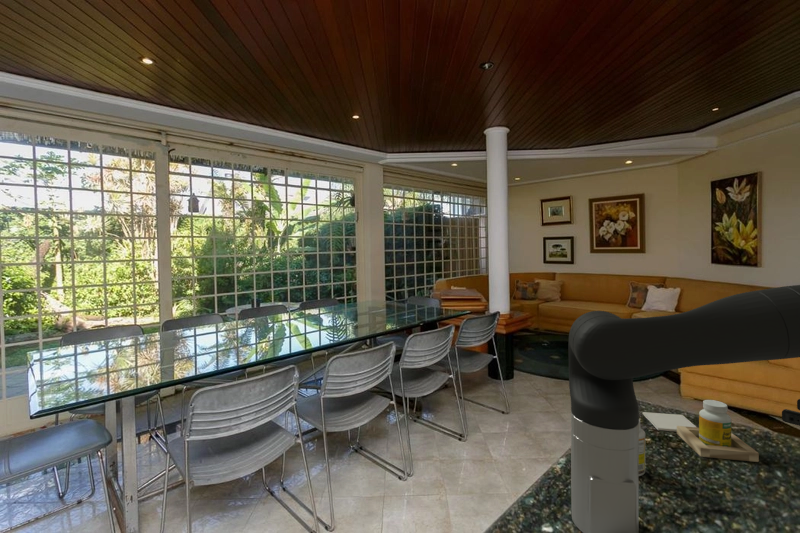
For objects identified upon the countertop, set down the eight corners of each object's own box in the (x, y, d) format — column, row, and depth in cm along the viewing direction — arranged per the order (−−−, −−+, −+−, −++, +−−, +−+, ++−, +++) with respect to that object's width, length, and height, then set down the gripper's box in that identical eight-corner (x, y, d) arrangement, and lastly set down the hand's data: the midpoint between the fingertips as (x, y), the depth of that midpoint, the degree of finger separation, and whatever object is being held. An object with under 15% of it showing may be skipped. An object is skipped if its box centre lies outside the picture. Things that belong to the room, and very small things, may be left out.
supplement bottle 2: (704, 438, 84) (704, 396, 83) (735, 448, 79) (735, 404, 79) (694, 445, 81) (695, 402, 80) (726, 456, 76) (726, 410, 76)
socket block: (758, 462, 74) (758, 453, 74) (700, 456, 76) (700, 447, 76) (727, 437, 84) (727, 429, 84) (676, 433, 86) (676, 425, 86)
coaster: (701, 433, 86) (701, 431, 86) (657, 430, 88) (657, 427, 88) (682, 416, 94) (682, 414, 94) (642, 413, 97) (642, 412, 97)
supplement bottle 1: (617, 458, 76) (617, 409, 76) (648, 469, 72) (649, 418, 72) (607, 469, 73) (607, 418, 72) (640, 481, 68) (640, 427, 68)
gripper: (947, 409, 59) (801, 381, 73) (935, 434, 52) (776, 398, 66) (947, 455, 60) (802, 419, 74) (935, 486, 52) (777, 439, 66)
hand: (790, 409), depth 70 cm, fingers open, 8 cm apart
